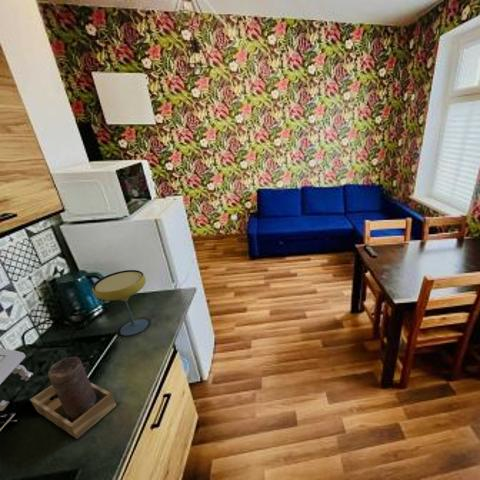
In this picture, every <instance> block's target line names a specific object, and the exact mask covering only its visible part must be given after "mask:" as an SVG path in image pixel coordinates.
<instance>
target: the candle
mask: <svg viewBox="0 0 480 480" xmlns="http://www.w3.org/2000/svg"><path fill="white" fill-rule="evenodd" d="M47 374H48V379H49V381H50V383H51V385H53V387H54V389H55V392H56V394H57V395H58V398H59V400H60V402H61V404H62V406H63V409H64V411H65V413H66V415H67V417H68V419H69V421H70V422H71V423H73V422H74V421H75V420H77V419H78V418H79V417H80V416H82V415H83V414H84V413H85V412H87V411H88V410H89V409H90V408H92V407H93V406H94V405H95V404H97V403H98V400H97V398H96V395H95V393H94V391H93V388H92V386H91V384H90V382H91V381H90V378H89V377H88V375H87V372H86V369H85V367H84V365H83V363H82V360H81V359H80V357H78V356H70V357H69V356H68V357H64V358H63V359H61V360H59V361H57V362H55V363H54V364H53V365H51V367H50V369H49V370H48V373H47Z"/></svg>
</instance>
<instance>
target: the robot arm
mask: <svg viewBox="0 0 480 480" xmlns="http://www.w3.org/2000/svg"><path fill="white" fill-rule="evenodd" d="M26 357H27V356H26V354H25V353H24V352H22V351H18V350H14V349H10V348H4V347H0V385H2V383H4V382H5V380H6V379H8V377H9V376H10V375H11V374H13V375H17V374H18V375H19V376H20V377H21V378H20V380H21V381H25V382H28V381H29V380H30V379H31V378H32V376H34V373H33V372H31V371H28V370H27V368H26V367H25V365H22V364H21V363H22V362H23V361H24V360H25V359H26ZM9 404H10V401H8V400H4V399H1V401H0V412H3V411H4V410H5V409H7V406H9Z"/></svg>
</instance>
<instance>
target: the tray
mask: <svg viewBox="0 0 480 480" xmlns="http://www.w3.org/2000/svg"><path fill="white" fill-rule="evenodd" d="M90 384H91V386H92V388H93V391H94V393H95V395H96V398H97V400H98V403H97V404H95V405H94V406H93V407H92V408H90V409H89V410H88V411H87V412H85V413H84V414H83V415H82V416H80V417H79V418H78V419H77V420H75V421H74V422H73V423H71V422H70V421H69V419H68V417H67V415H66V413H65V411H64V409H63V406H62V404H61V402H60V400H59V398H54V399H53V400H50V398H51V397H52V396H54V395H55V394H56V392H55V389H54V387H53V385H52V384H51V385H50V386H48V387H46V388H44V389H43V390H41V391H40V392H39V393H37V394H36V395H34V396H32V397H31V398H29V401H30V402H31V404H32V406H33V407H34V409H35V411H36V412H37V413H39V414H40V415H41V416H43V417H44V418H46V419H47V420H49V421H50V422H51V423H53V424H54V425H56V426H57V427H59V428H60V429H62V430H63V431H65V432H66V433H68V434H69V435H70V436H72V437H73V438H75V439H76V440H78V439H79V438H81V437H82V436H83V435H84V434H85V433H87V431H89V430H90V428H92V427H94V425H96V424H97V423H98V422H99V421H100V420H102V419H103V418H104V417H105V416H106V415H107V414H108V413H110V412H111V411H112V410H113V409H114V408H116V407H117V403H116V401H115V399H114V396H113V394H112V392H109V391H108V390H105V389H104V388H102V387H100V386H98V385H97V384H94V383H93V382H91V381H90Z"/></svg>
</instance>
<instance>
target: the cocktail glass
mask: <svg viewBox="0 0 480 480" xmlns="http://www.w3.org/2000/svg"><path fill="white" fill-rule="evenodd" d="M145 285H146V276H145V274H144V272H143V271H140V270H137V269H128V270H127V269H126V270H121V271H116V272H112V273H110V274H107V275H105V276H103V277H101V278H99V279H97V280H96V281H95V282H94V283H93V285H92V289H91V290H92V293H93V295H94V297H96V298H97V299H99V300H102V301H119V300H120V301H122V302H124V303H125V305H126V309H127V311H128V315H129V319H130V321H129V322H127V323H125V324H123V326H122V327H121V328H120V330H119V333H120V335H122V336H124V337H125V336H126V337H129V336H134V335H137V334H139V333H141V332H143V331H144V330H145V329H147V328H148V326H149V320H148V319H144V318H138V319H134V318H133V315H132V312H131V309H130V307H129V304H128V300H129V299H130V297H132V296H134V295H135V294H137V293H138V292H139V291H141V290H142V289H143V288H144V287H145Z"/></svg>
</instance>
